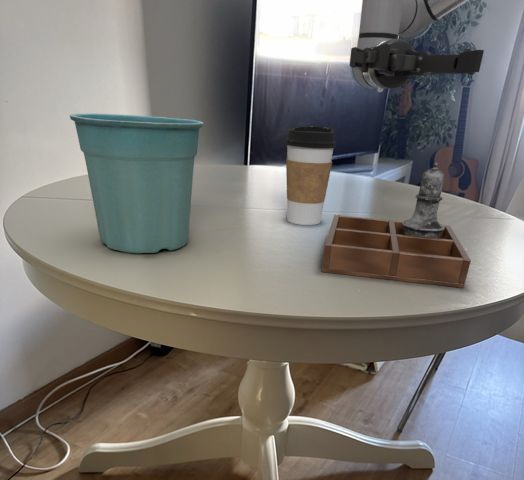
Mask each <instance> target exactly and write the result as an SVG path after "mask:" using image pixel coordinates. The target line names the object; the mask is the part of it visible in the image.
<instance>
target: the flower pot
mask: <svg viewBox="0 0 524 480" xmlns="http://www.w3.org/2000/svg"><path fill="white" fill-rule="evenodd" d="M69 119H70V120H71V121H73V122H74V126H75V130H76V134H77V139H78V145H79V149H80V151H81V152H82V153H83V156H84V157H83V158H84V161H85V166H86V170H87V177H88V181H89V186H90V192H91V198H92V202H93V208H94V214H95V219H96V224H97V229H98V234H99V239H100V243H101V244H102V245H106V247H107V248H108V249H111V250H115V251H119V252H123V253H129V254H156V253H159V251H161V250H165V249H166V250H168V251H175V250H178V249H181V248H183V247H185V245H187V244H188V241H189V232H190V217H191V207H192V206H191V204H192V194H193V181H194V180H193V179H194V167H195V157H196V156H197V154H198V144H199V135H200V128H203V126H204V122H203V121H200V120H195V119H186V118H185V119H184V118H173V117H164V116H150V115H138V114H137V115H135V114H118V113H117V114H115V113H114V114H113V113H72V114H69Z"/></svg>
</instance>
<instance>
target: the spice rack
mask: <svg viewBox="0 0 524 480" xmlns="http://www.w3.org/2000/svg"><path fill="white" fill-rule="evenodd" d="M403 221H404V220H392V219H391V220H390V219H381V218H371V217H362V216H350V215H340V214H334V215H333V218H332V221H331V225H330V227H329V231H328V234H327V237H326V240H325V242H324V249H323V258H322V266H321V273H327V274H328V273H329V274H336V275H347V276H356V277H363V278H371V279H381V280H389V281H390V280H391V281H397V282H406V283H416V284H425V285H432V286H433V285H434V286H441V287H442V286H443V287H450V288H460V289H464V288H465V284H466V280H467V278H468V275H469V274H468V273H469V270H470V265H471V262H472V260H471V258H470V257H469V255H468V253H467V252H466V250H465V249H464V246H463V245H462V243H461V242H460V240H459V238H458V236H457V235H456V233H455V231H454V229H453V228H452V226H451V225H445V224H442V225H443V226H444V228H445V229H444V230H442V231H441V235H440V236H439V238H428V237H418V236H408V235H404V232H403V227H404V226H403V225H402V222H403Z"/></svg>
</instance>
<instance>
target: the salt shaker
mask: <svg viewBox="0 0 524 480" xmlns="http://www.w3.org/2000/svg"><path fill="white" fill-rule="evenodd" d="M432 165H433V167H431V168H430V169H427V170H425V171H424V172H422V175H421V180H420V186H419V191H418V193H417V194H416V195H415V198H416V202H415V208H414V212H413V213H412V216H411V217H410V218H409V219H406V220H402V221H403V222H402V225H403V226H404V227H403V232H404V235H408V236H418V237H428V238H439V236H440V235H441V231H442V230H444V229H445V228H444V226H443V225H444V224H441V223H439V221H438V210H439V206H440V203H441V201H443V197H442V196H441V195H442V190H443V185H444V181H445V174H444V172H443V171H442V170H440V169H439V168H438V166H439V164H438V161H435V162H434V163H433V164H432Z"/></svg>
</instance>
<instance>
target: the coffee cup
mask: <svg viewBox="0 0 524 480" xmlns="http://www.w3.org/2000/svg"><path fill="white" fill-rule="evenodd" d="M284 144H285V145H286V148H287V149H286V151H287V152H286V153H287V154H286V158H285V165H286V168H285V169H286V170H285V171H286V174H285V175H286V220H287V222H289V223H291V224H294V225H301V226H314V225H319V224H320V223H321V221H322V216H323V210H324V204H325V200H326V195H327V190H328V185H329V180H330V176H331V171H332V167H333V166H332V165H333V160H332V159H333V153H334V149H335V148H337V142H336V129H334V128H332V127H327V126H315V125H303V126H302V125H301V126H295V127H292V128H289V129H288V134H287V137H286V139H285V143H284Z"/></svg>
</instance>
